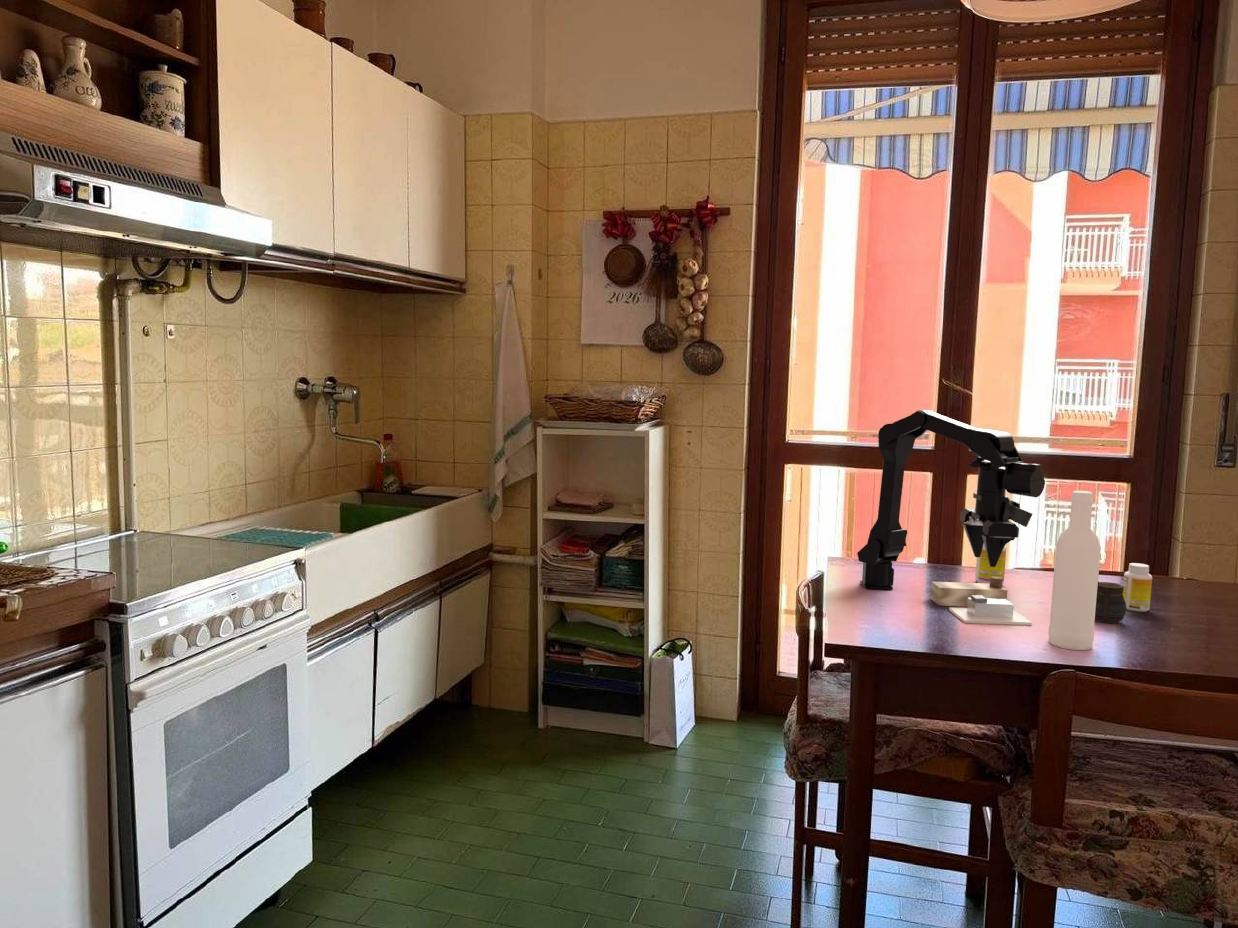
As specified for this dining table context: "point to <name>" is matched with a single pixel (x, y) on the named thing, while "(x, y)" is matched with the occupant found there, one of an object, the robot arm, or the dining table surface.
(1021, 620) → the board
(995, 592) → the body
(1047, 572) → the dining table surface
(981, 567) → the supplement bottle
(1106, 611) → the mate gourd
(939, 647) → the dining table surface
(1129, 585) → the supplement bottle
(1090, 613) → the bottle
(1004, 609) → the lever cap
